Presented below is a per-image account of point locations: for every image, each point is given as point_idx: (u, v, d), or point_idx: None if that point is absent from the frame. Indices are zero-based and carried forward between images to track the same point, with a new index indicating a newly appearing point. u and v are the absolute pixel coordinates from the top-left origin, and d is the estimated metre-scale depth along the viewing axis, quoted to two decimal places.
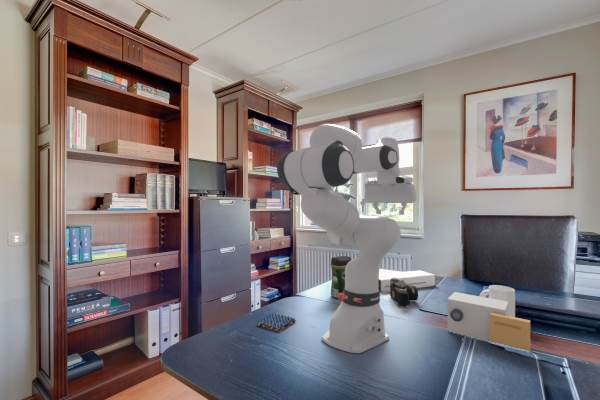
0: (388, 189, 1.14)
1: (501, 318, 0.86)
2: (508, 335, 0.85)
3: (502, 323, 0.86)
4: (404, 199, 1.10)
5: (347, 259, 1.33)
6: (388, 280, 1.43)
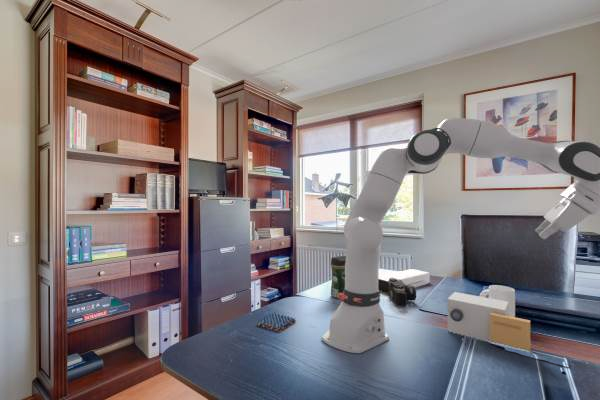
0: (563, 207, 0.84)
1: (501, 318, 0.86)
2: (508, 335, 0.85)
3: (502, 323, 0.86)
4: (554, 218, 0.81)
5: None
6: None
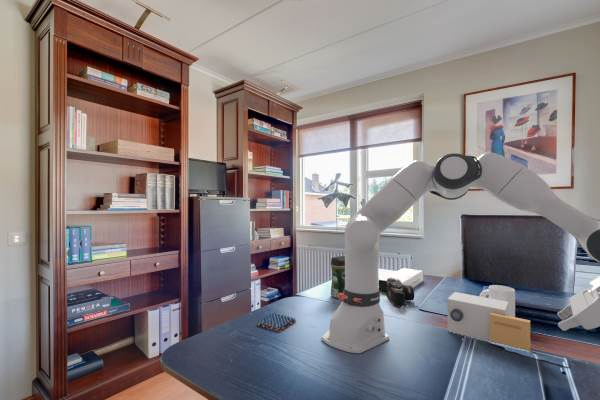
0: (591, 296, 0.74)
1: (501, 318, 0.86)
2: (508, 335, 0.85)
3: (502, 323, 0.86)
4: (577, 310, 0.72)
5: None
6: (404, 282, 1.39)
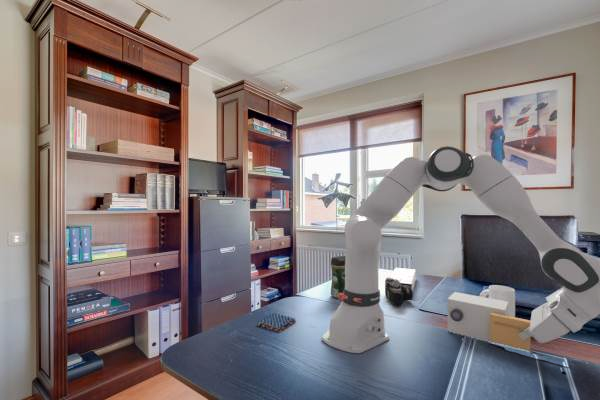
0: (547, 311, 0.80)
1: (501, 318, 0.86)
2: (508, 335, 0.85)
3: (502, 323, 0.86)
4: (533, 325, 0.77)
5: None
6: (412, 283, 1.39)
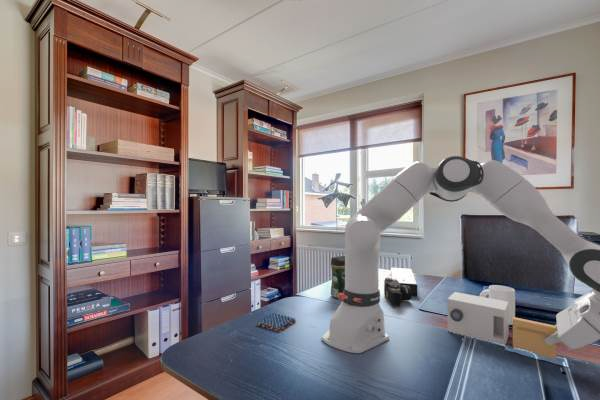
0: (575, 315, 0.76)
1: (525, 323, 0.83)
2: (533, 341, 0.82)
3: (526, 328, 0.82)
4: (561, 330, 0.74)
5: None
6: (416, 283, 1.39)
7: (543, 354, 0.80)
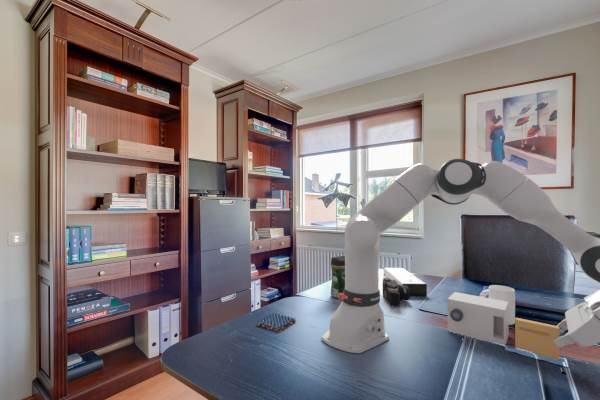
0: (585, 313, 0.75)
1: (527, 324, 0.82)
2: (535, 342, 0.81)
3: (528, 329, 0.82)
4: (572, 327, 0.73)
5: None
6: None
7: (546, 355, 0.80)
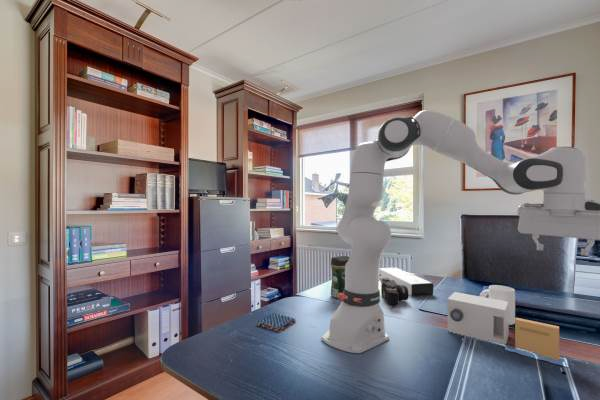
0: (565, 217, 0.82)
1: (527, 324, 0.82)
2: (535, 342, 0.81)
3: (528, 329, 0.82)
4: (595, 234, 0.77)
5: (347, 259, 1.33)
6: None
7: (546, 355, 0.80)
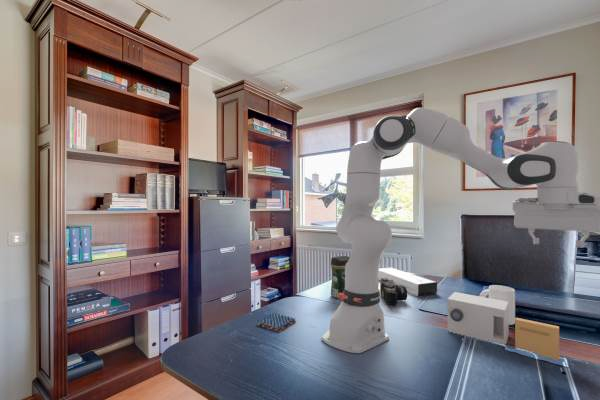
0: (559, 211, 0.83)
1: (527, 324, 0.82)
2: (535, 342, 0.81)
3: (528, 329, 0.82)
4: (590, 226, 0.79)
5: (347, 259, 1.33)
6: None
7: (546, 355, 0.80)
